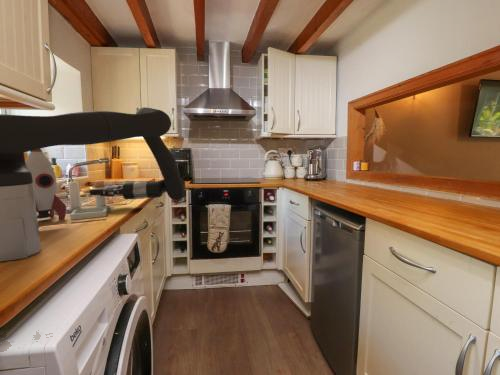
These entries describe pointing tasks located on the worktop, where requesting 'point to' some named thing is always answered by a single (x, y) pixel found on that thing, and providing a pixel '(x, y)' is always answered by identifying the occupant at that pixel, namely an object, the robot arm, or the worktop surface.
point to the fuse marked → (99, 199)
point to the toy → (44, 186)
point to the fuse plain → (74, 195)
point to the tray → (89, 213)
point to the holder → (68, 210)
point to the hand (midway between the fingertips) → (92, 191)
